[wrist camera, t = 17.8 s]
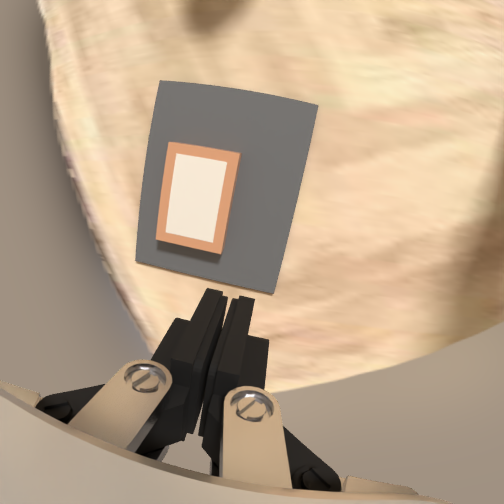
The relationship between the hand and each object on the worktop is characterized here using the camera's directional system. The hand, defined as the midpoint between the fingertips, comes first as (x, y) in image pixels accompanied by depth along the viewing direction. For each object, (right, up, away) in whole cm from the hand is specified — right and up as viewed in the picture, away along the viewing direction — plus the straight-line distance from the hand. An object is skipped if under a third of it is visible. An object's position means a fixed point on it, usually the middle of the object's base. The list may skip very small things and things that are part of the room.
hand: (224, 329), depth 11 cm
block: (-1, +7, +20) cm, 21 cm away
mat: (-2, +9, +20) cm, 23 cm away
